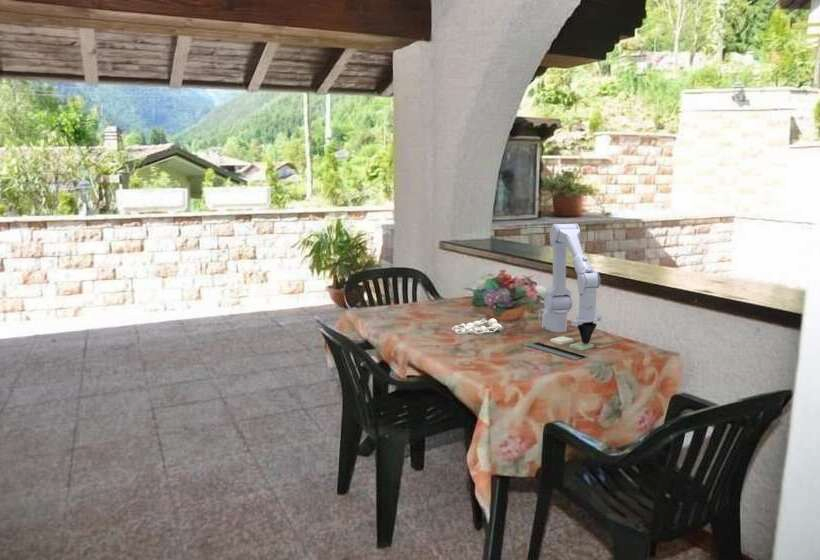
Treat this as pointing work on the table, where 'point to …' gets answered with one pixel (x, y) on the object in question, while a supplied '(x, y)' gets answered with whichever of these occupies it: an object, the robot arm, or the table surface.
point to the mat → (556, 351)
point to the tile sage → (581, 346)
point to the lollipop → (541, 293)
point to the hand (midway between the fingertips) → (585, 342)
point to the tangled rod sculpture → (478, 326)
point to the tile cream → (561, 340)
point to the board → (593, 339)
